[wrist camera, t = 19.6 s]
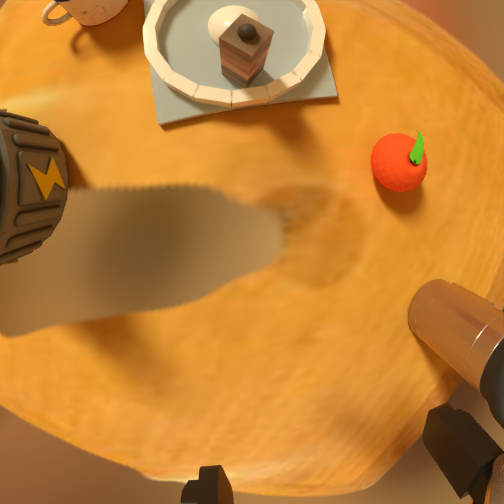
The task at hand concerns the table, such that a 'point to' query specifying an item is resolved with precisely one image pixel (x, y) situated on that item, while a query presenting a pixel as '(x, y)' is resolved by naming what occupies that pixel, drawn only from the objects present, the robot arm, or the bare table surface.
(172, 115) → the groove dish
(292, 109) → the table surface
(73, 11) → the teacup with lid
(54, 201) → the decorative lamp
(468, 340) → the robot arm
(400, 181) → the clementine
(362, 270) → the table surface
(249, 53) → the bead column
